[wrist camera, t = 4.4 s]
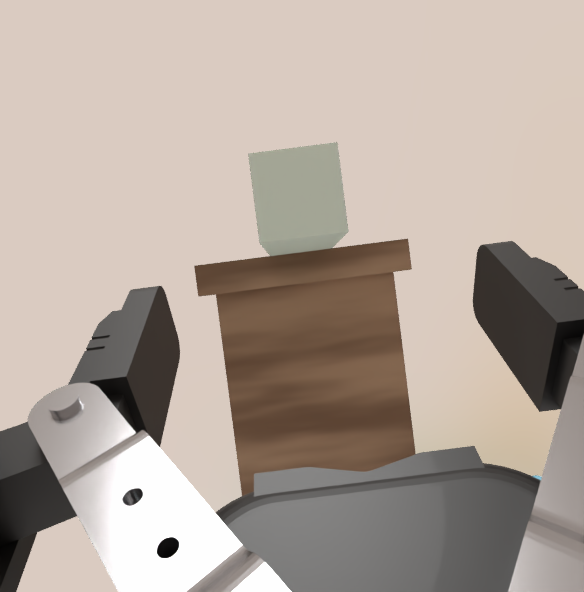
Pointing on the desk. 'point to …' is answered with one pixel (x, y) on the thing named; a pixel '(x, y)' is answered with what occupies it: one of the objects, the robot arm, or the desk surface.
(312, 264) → the walnut stand
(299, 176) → the sage block
